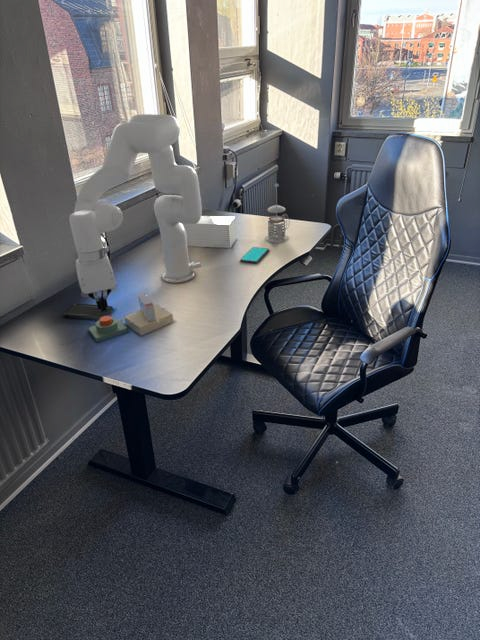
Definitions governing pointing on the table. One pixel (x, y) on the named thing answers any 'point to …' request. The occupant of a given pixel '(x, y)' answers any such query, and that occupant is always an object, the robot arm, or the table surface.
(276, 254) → the table surface
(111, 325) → the button box
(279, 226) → the french press
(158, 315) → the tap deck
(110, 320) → the button
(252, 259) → the smartphone
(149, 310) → the grey block
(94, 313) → the phone
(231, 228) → the white storage box
